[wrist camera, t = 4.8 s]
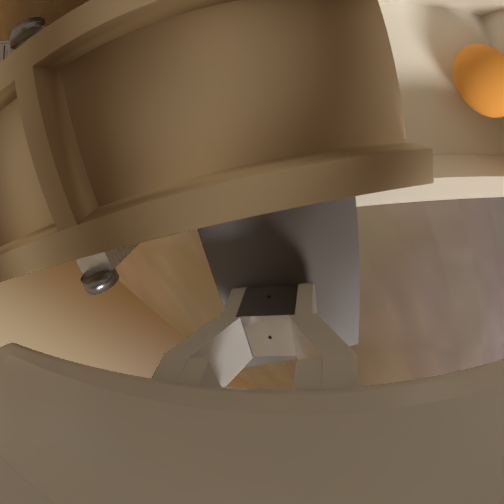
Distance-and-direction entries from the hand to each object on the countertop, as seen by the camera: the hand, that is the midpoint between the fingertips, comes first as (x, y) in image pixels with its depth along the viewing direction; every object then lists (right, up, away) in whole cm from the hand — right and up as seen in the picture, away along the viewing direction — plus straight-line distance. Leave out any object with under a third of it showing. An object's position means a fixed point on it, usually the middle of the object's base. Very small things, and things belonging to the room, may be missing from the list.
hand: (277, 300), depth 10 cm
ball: (+11, +10, -1) cm, 15 cm away
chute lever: (-6, +5, +4) cm, 9 cm away
